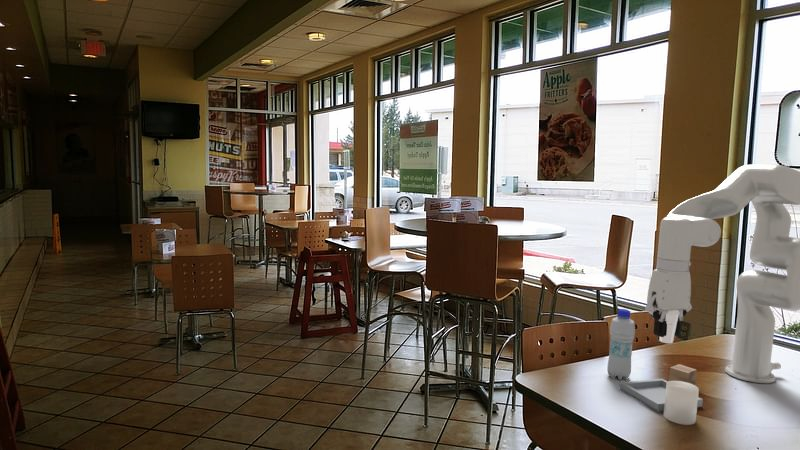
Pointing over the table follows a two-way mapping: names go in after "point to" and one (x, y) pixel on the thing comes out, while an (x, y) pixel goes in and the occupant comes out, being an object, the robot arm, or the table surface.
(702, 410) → the table surface
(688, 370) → the walnut block
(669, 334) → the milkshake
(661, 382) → the tray
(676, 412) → the white squat cylinder
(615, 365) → the bottle
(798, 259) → the robot arm
